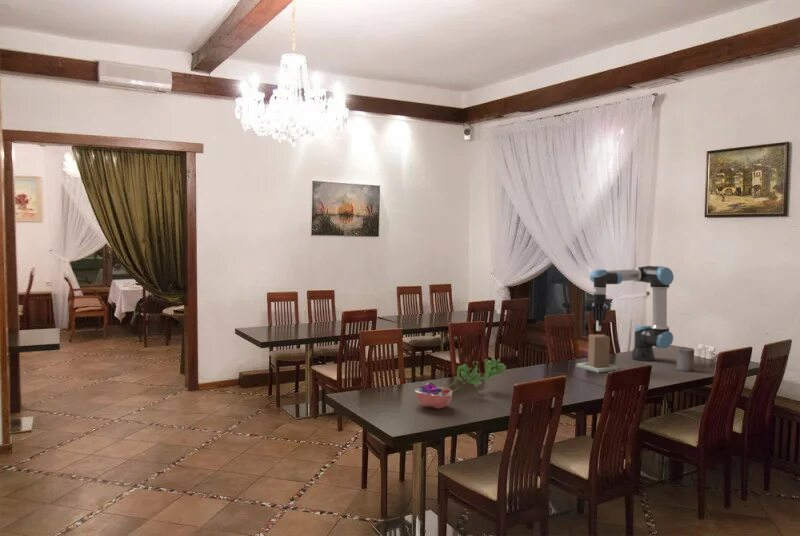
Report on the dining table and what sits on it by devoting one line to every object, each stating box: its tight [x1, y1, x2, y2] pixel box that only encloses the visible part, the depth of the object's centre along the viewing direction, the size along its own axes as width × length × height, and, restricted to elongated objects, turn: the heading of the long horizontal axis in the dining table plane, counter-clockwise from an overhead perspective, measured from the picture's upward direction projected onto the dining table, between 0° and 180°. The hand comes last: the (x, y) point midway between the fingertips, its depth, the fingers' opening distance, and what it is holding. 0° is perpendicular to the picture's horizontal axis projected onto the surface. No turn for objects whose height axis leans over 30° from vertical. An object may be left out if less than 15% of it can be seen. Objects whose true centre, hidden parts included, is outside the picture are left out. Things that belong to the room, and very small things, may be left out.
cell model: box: [414, 382, 454, 410], centre depth 283 cm, size 17×20×11 cm
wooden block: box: [587, 334, 611, 368], centre depth 373 cm, size 10×10×20 cm
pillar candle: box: [676, 346, 695, 372], centre depth 371 cm, size 10×10×15 cm
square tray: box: [576, 361, 620, 374], centre depth 373 cm, size 18×18×2 cm
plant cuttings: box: [444, 357, 507, 396], centre depth 310 cm, size 35×17×22 cm
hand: (598, 330), depth 372 cm, fingers closed
